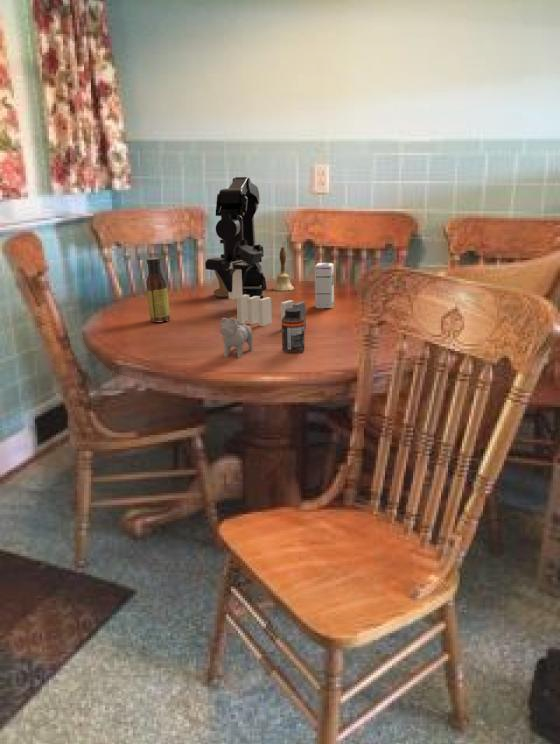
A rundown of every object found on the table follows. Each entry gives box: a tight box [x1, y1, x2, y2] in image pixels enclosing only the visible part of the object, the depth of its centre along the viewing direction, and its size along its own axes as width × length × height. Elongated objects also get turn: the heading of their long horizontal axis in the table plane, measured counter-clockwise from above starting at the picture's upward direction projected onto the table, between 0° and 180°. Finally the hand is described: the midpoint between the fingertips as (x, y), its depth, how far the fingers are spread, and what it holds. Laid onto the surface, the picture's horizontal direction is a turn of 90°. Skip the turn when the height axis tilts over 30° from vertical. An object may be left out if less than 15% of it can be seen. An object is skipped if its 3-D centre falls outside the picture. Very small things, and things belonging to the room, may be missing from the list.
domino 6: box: [292, 301, 307, 330], centre depth 194 cm, size 2×4×8 cm, turn 144°
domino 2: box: [236, 294, 250, 323], centre depth 206 cm, size 2×4×8 cm, turn 144°
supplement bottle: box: [281, 308, 305, 354], centre depth 173 cm, size 6×6×11 cm
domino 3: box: [247, 296, 260, 325], centre depth 204 cm, size 2×4×8 cm, turn 144°
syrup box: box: [314, 262, 335, 309], centre depth 222 cm, size 6×6×14 cm
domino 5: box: [280, 299, 295, 330], centre depth 197 cm, size 2×4×8 cm, turn 144°
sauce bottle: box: [145, 257, 171, 322], centre depth 206 cm, size 7×6×20 cm
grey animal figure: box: [219, 317, 253, 358], centre depth 171 cm, size 5×13×11 cm, turn 158°
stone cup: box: [213, 256, 234, 298], centre depth 242 cm, size 15×12×15 cm
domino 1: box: [228, 269, 243, 300], centre depth 190 cm, size 2×4×8 cm, turn 144°
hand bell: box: [272, 246, 295, 292], centre depth 252 cm, size 8×8×16 cm
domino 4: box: [258, 296, 273, 327], centre depth 201 cm, size 2×4×8 cm, turn 144°
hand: (235, 290), depth 190 cm, fingers closed on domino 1, 4 cm apart
